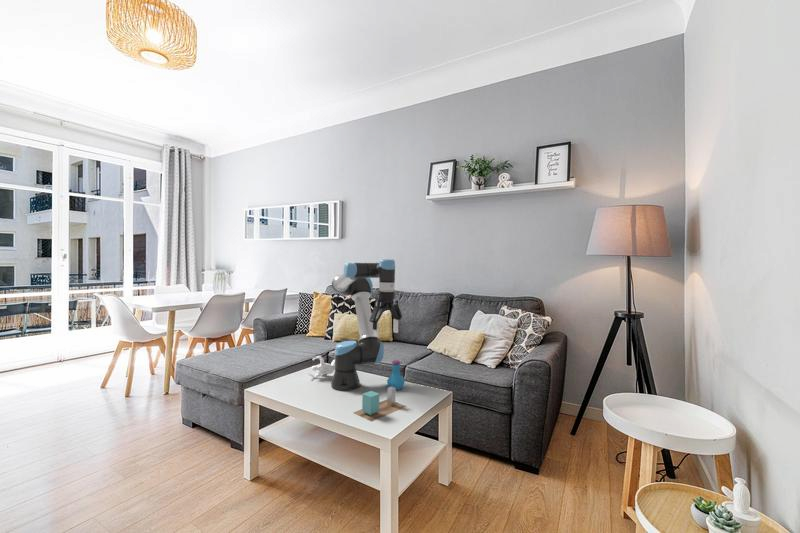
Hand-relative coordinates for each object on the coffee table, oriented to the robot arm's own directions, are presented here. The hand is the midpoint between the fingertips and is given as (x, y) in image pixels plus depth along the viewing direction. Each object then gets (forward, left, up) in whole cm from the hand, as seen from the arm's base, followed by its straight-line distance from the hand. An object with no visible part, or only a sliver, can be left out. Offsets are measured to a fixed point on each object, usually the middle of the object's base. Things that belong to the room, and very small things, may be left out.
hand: (386, 334), depth 178 cm
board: (+9, -12, -32) cm, 35 cm away
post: (+9, -5, -31) cm, 32 cm away
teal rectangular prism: (+9, -18, -30) cm, 36 cm away
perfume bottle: (-5, +13, -32) cm, 35 cm away
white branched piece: (-48, 0, -32) cm, 58 cm away
